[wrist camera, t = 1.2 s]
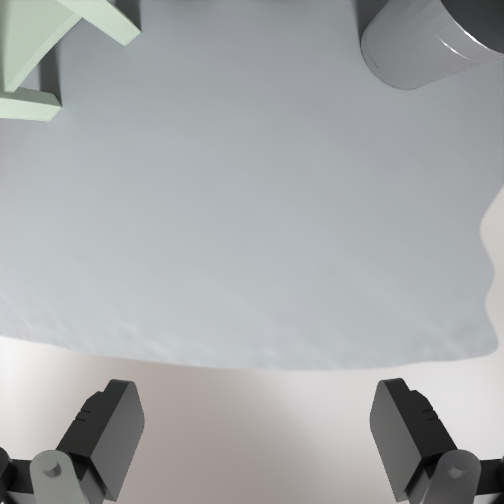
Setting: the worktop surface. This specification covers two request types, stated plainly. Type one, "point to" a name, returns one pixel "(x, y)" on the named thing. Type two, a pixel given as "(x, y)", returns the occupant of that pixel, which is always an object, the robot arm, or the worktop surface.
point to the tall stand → (45, 46)
